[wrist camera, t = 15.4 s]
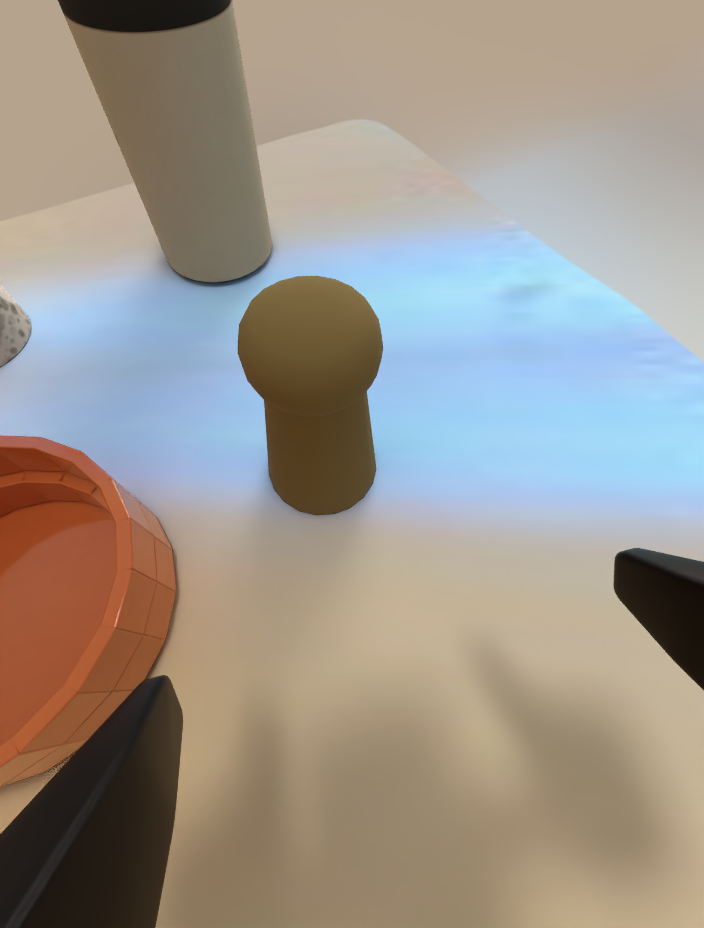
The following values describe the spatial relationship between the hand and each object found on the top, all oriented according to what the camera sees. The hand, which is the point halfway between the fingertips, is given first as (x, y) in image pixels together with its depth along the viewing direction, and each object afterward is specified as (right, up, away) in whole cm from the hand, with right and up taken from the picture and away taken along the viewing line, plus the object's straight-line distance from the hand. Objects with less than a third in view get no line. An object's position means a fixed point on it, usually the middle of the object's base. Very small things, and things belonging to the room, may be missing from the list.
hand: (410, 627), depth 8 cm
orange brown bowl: (-16, -4, +11) cm, 20 cm away
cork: (-3, +3, +15) cm, 16 cm away
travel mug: (-11, +19, +24) cm, 33 cm away
